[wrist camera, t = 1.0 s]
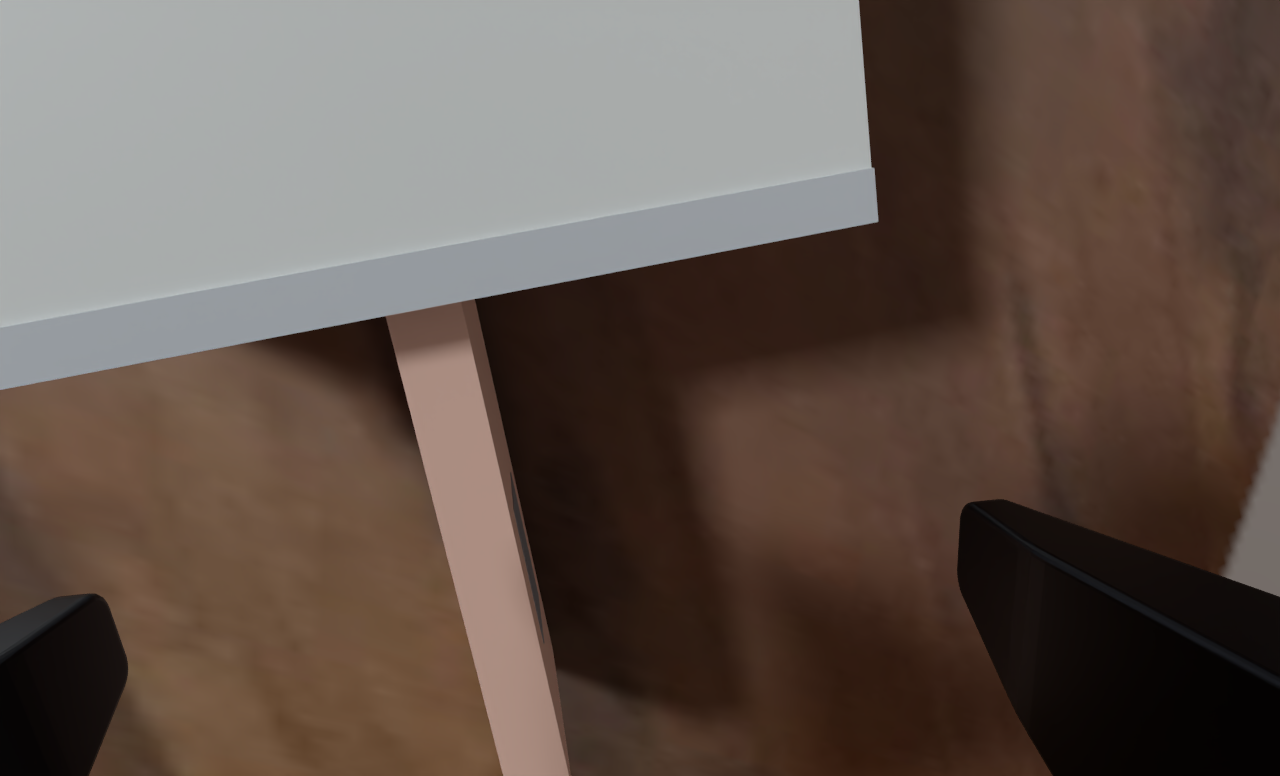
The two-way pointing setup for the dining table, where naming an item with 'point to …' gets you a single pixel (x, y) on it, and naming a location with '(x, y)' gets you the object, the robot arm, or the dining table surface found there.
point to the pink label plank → (483, 531)
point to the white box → (394, 157)
